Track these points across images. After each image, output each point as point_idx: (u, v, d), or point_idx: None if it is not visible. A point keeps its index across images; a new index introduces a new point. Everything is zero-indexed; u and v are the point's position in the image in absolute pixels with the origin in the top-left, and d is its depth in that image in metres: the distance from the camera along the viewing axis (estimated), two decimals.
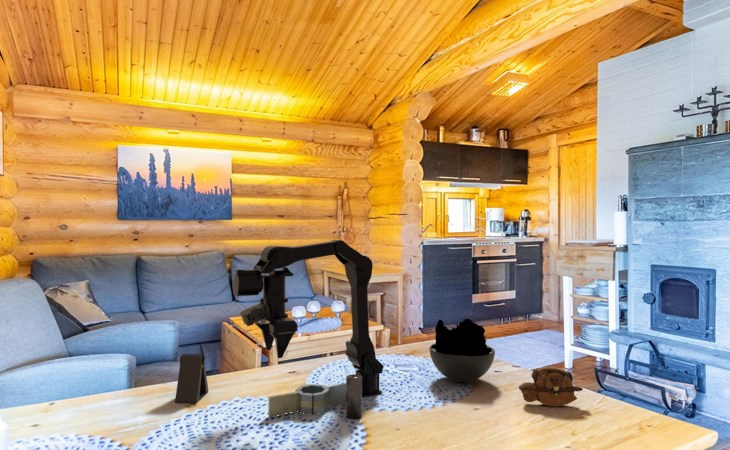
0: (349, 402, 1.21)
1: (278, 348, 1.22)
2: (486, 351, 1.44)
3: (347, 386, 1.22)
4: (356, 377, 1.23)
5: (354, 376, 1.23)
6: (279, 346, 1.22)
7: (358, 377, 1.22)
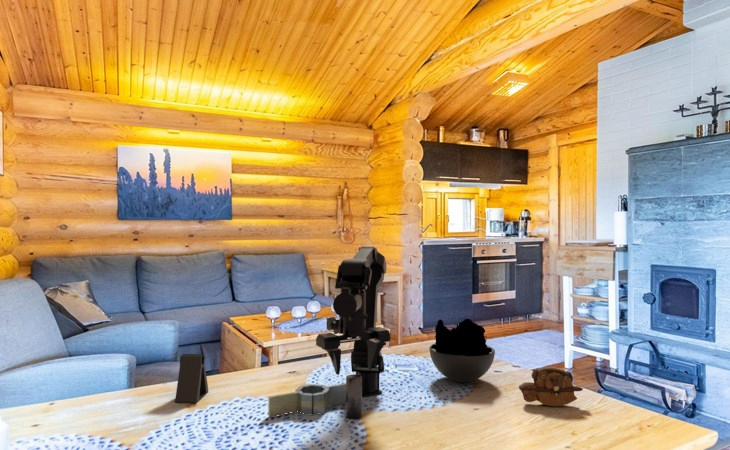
0: (349, 402, 1.21)
1: (333, 363, 1.21)
2: (486, 351, 1.44)
3: (347, 386, 1.22)
4: (356, 377, 1.23)
5: (354, 376, 1.23)
6: (332, 361, 1.21)
7: (358, 377, 1.22)
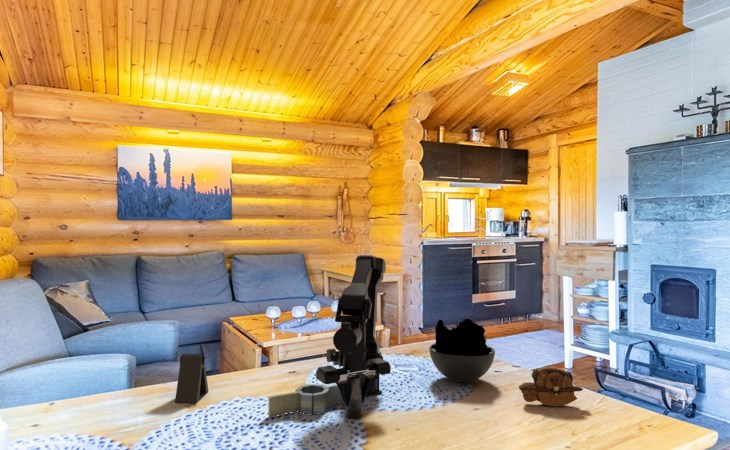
0: (349, 402, 1.21)
1: (342, 395, 1.22)
2: (486, 351, 1.44)
3: None
4: (356, 377, 1.23)
5: (354, 376, 1.23)
6: (341, 393, 1.22)
7: (358, 377, 1.22)
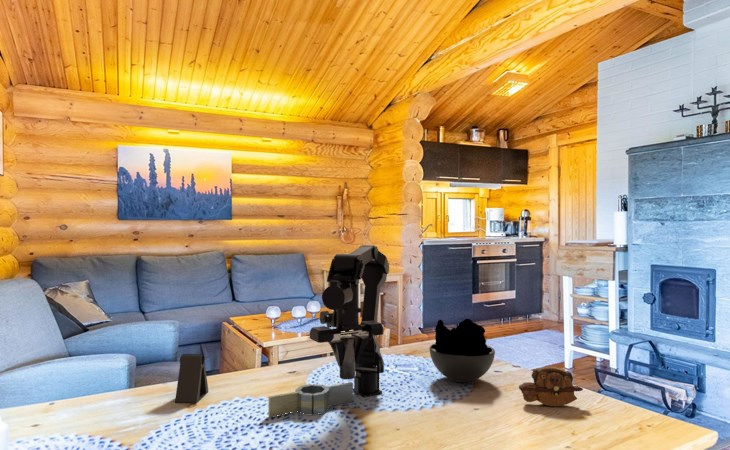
0: (343, 362, 1.22)
1: (335, 355, 1.23)
2: (486, 351, 1.44)
3: None
4: (350, 337, 1.23)
5: (347, 337, 1.24)
6: (335, 353, 1.23)
7: (351, 338, 1.23)
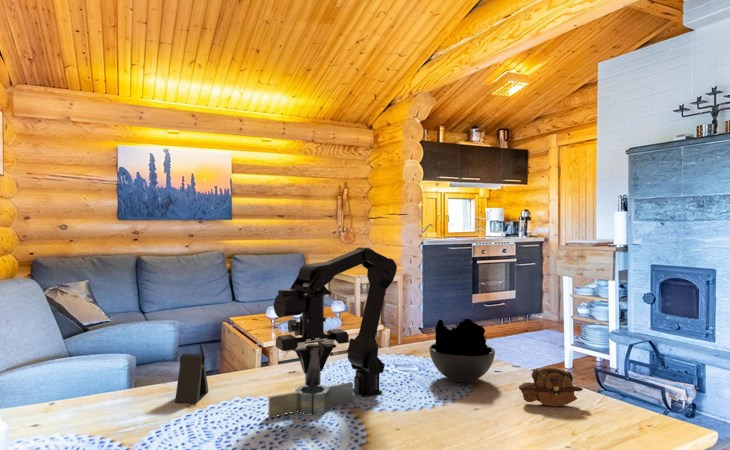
0: (308, 369, 1.26)
1: (301, 363, 1.27)
2: (486, 351, 1.44)
3: None
4: (315, 345, 1.28)
5: (313, 345, 1.29)
6: (300, 360, 1.27)
7: (316, 346, 1.27)
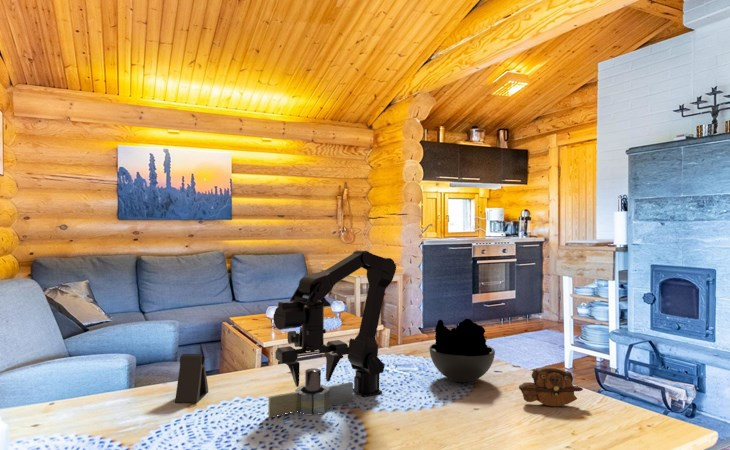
0: None
1: (293, 375, 1.26)
2: (486, 351, 1.44)
3: (306, 379, 1.27)
4: (315, 370, 1.28)
5: (313, 370, 1.29)
6: (292, 373, 1.26)
7: (316, 371, 1.27)
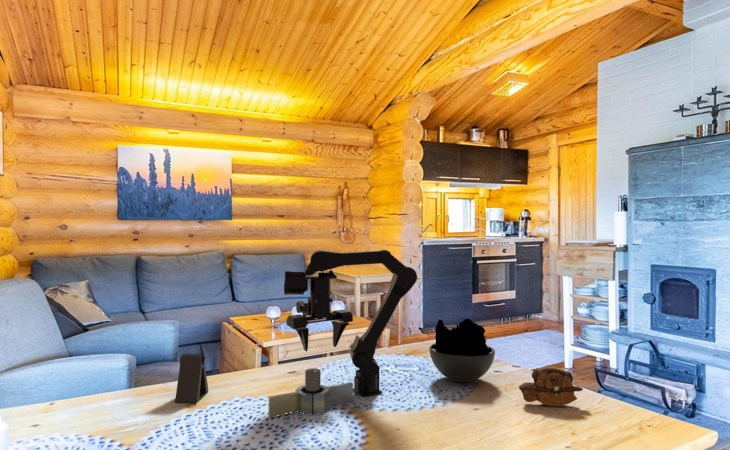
0: None
1: (302, 341, 1.37)
2: (486, 351, 1.44)
3: (306, 379, 1.27)
4: (315, 370, 1.28)
5: (313, 370, 1.28)
6: (301, 339, 1.37)
7: (316, 371, 1.27)
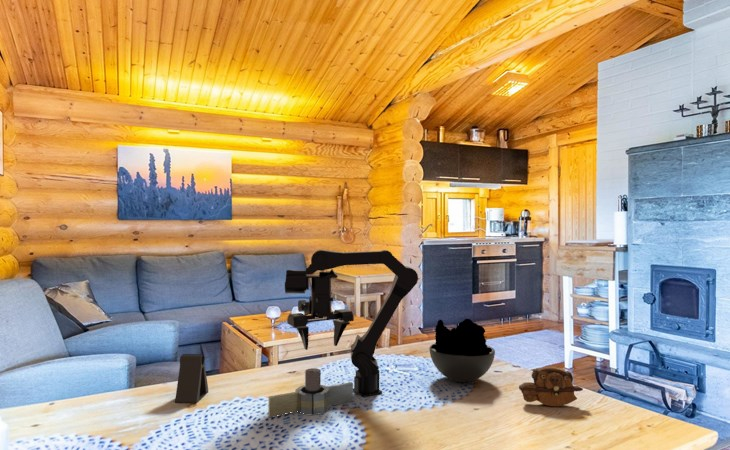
0: None
1: (302, 340, 1.38)
2: (486, 351, 1.44)
3: (306, 379, 1.27)
4: (315, 370, 1.28)
5: (313, 370, 1.28)
6: (302, 338, 1.38)
7: (316, 371, 1.27)
